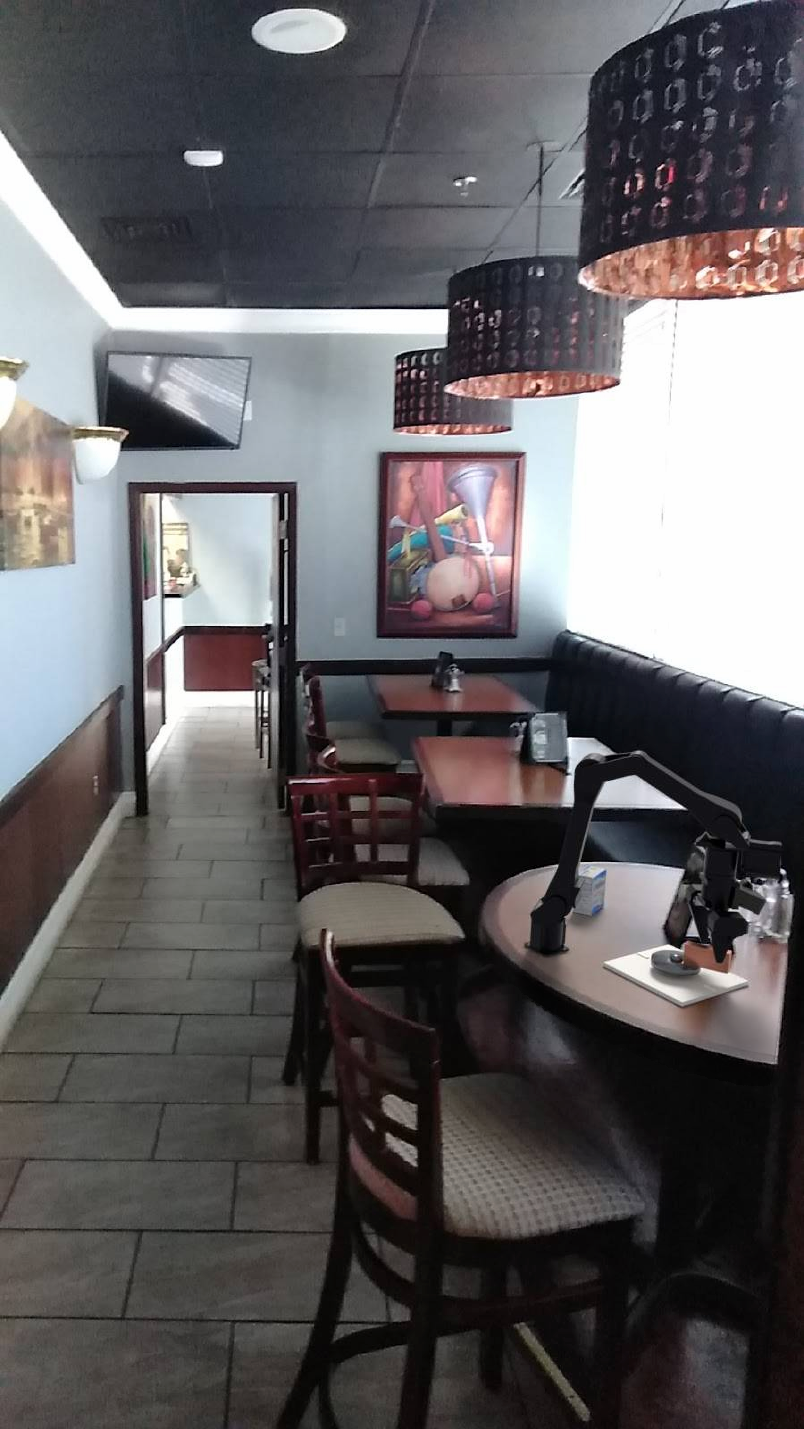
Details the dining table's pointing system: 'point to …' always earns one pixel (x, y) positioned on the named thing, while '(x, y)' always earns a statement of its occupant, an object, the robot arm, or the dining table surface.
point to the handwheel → (689, 960)
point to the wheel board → (674, 978)
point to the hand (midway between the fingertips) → (711, 952)
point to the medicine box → (591, 890)
